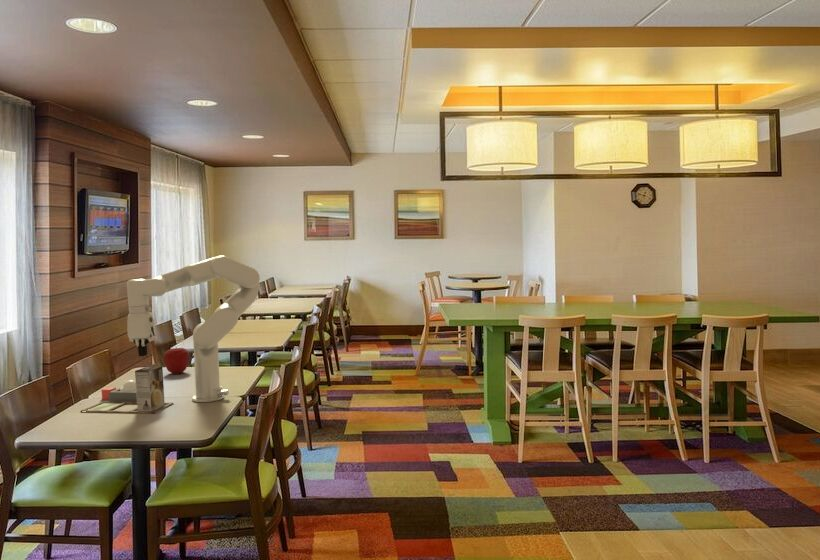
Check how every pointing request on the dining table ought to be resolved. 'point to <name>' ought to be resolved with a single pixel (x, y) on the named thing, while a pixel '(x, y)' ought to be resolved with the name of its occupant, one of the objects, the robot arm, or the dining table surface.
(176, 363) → the apple
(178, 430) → the dining table surface
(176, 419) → the dining table surface
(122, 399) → the dome housing
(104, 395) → the red die
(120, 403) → the frame
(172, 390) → the dining table surface
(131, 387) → the dome
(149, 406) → the coffee box
